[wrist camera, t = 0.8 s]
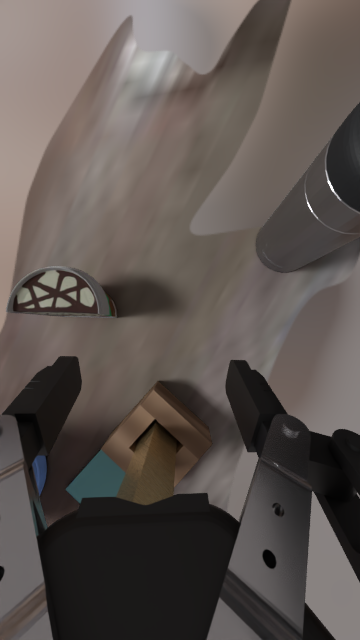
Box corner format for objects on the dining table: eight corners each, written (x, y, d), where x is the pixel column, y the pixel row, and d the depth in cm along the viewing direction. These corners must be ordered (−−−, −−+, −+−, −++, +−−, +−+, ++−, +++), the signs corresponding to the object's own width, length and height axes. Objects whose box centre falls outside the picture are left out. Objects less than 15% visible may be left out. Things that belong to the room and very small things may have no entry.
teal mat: (108, 440, 34) (107, 442, 34) (154, 483, 34) (153, 486, 33) (67, 486, 34) (65, 489, 33) (112, 530, 34) (111, 533, 33)
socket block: (157, 380, 34) (153, 389, 29) (208, 427, 34) (212, 444, 29) (112, 431, 34) (100, 449, 29) (162, 478, 34) (159, 504, 29)
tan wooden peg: (159, 411, 34) (131, 504, 16) (177, 428, 34) (170, 541, 16) (143, 429, 34) (96, 544, 16) (161, 446, 34) (135, 581, 16)
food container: (127, 281, 35) (105, 262, 25) (126, 318, 35) (103, 314, 25) (55, 280, 35) (4, 261, 25) (53, 316, 35) (1, 311, 25)
